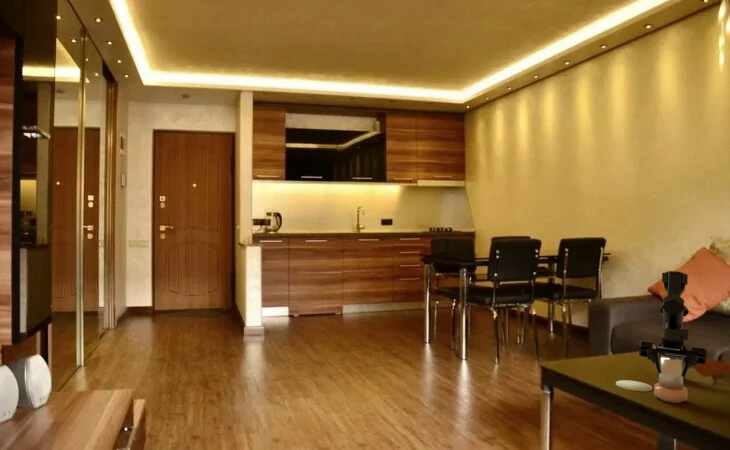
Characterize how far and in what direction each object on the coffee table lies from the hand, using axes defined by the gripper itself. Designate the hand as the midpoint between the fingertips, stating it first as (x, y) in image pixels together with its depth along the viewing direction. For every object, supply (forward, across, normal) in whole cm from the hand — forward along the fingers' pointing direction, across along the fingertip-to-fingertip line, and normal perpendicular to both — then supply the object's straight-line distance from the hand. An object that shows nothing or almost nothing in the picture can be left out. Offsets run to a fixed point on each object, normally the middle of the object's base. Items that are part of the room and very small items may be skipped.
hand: (671, 375), depth 171 cm
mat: (-2, -11, +13) cm, 17 cm away
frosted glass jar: (+2, 0, +4) cm, 4 cm away
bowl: (+5, 0, +7) cm, 8 cm away
